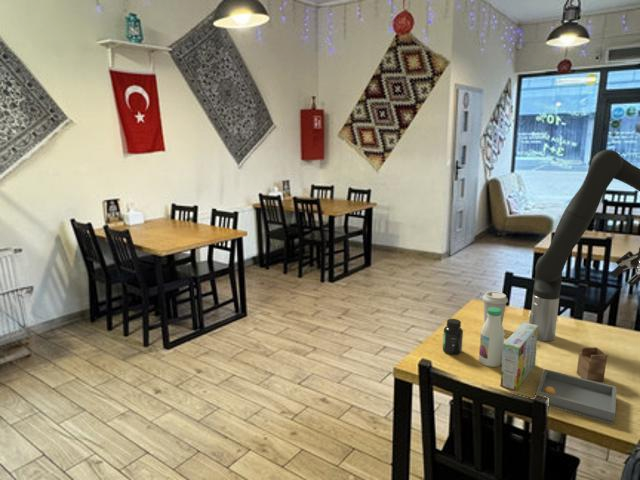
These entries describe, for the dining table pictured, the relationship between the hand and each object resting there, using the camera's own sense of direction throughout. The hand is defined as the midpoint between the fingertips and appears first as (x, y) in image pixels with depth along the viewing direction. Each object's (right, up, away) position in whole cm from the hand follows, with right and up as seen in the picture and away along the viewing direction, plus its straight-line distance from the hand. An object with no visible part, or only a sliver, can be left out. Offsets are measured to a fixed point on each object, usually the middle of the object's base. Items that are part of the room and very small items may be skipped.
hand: (620, 280), depth 154 cm
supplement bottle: (-52, -28, +17) cm, 61 cm away
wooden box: (-11, -32, -2) cm, 34 cm away
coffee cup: (-30, -23, +35) cm, 52 cm away
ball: (-31, -33, -14) cm, 47 cm away
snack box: (-34, -32, 0) cm, 47 cm away
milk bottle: (-41, -30, +9) cm, 51 cm away
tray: (-23, -35, -14) cm, 44 cm away
